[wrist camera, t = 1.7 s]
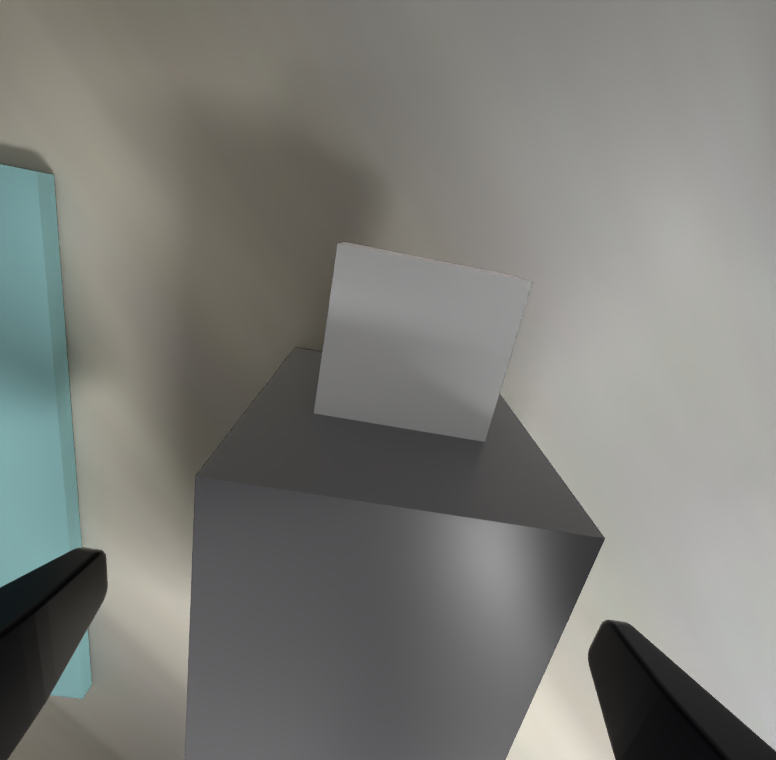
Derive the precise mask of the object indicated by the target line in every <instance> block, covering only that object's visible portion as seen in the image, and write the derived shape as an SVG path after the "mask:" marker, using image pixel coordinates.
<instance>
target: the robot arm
mask: <svg viewBox="0 0 776 760" xmlns="http://www.w3.org/2000/svg"><path fill="white" fill-rule="evenodd" d="M107 586H108V582H107V562H106V554H105V553H104V551H102V550H99V549H91V548H84V547H80V548H75V549H73V550H71V551H69V552H67V553H65V554H63V555H61V556H59V557H57V558H56V559H54V560H52V561H50V562H48V563H46V564H44V565H42V566H40V567H38V568H36V569H34V570H32V571H31V572H29V573H27V574H25V575H23V576H21V577H19V578H17V579H15V580H13V581H11V582H9V583H7V584H6V585H4V586H2V587H0V760H7V759H8V758H9V756H10V755H11V753H12V752H13V750H14V749H15V748H16V746H17V745H18V743H19V742H20V740H21V739H22V737H23V736H24V734H25V733H26V731H27V730H28V728H29V727H30V725H31V724H32V723H33V721H34V720H35V718H36V716H37V715H38V713H39V712H40V710H41V709H42V707H43V706H44V704H45V703H46V701H47V699H48V698H49V696H50V694H51V693H52V691H53V689H54V688H55V686H56V684H57V682H58V681H59V679H60V677H61V675H62V674H63V672H64V670H65V668H66V666H67V665H68V663H69V661H70V659H71V658H72V656H73V654H74V652H75V650H76V649H77V647H78V645H79V643H80V642H81V640H82V638H83V636H84V634H85V633H86V631H87V629H88V627H89V626H90V624H91V622H92V620H93V618H94V617H95V615H96V613H97V611H98V610H99V608H100V606H101V604H102V602H103V600H104V598H105V596H106V592H107ZM588 662H589V667H590V671H591V674H592V678H593V681H594V685H595V688H596V692H597V696H598V699H599V703H600V706H601V710H602V714H603V717H604V721H605V724H606V728H607V732H608V735H609V739H610V742H611V746H612V749H613V753H614V756H615V759H616V760H776V751H775V750H774V749H772V748H771V747H770V746H769V745H768V744H767V743H766V742H764V741H763V740H762V739H761V738H760V737H759V736H758V735H756V734H755V733H754V732H753V731H752V730H751V729H750V728H748V727H747V726H746V725H745V724H744V723H743V722H742V721H740V720H739V719H738V718H737V717H736V716H735V715H733V714H732V713H731V712H730V711H729V710H728V709H727V708H725V707H724V706H723V705H722V704H721V703H720V702H719V701H717V700H716V699H715V698H714V697H713V696H712V695H711V694H709V693H708V692H707V691H706V690H705V689H704V688H703V687H701V686H700V685H699V684H698V683H697V682H696V681H695V680H693V679H692V678H691V677H690V676H689V675H688V674H687V673H685V672H684V671H683V670H682V669H681V668H680V667H679V666H677V665H676V664H675V663H674V662H673V661H672V660H671V659H669V658H668V657H667V656H666V655H665V654H664V653H663V652H661V651H660V650H659V649H658V648H657V647H656V646H654V645H653V644H652V643H651V642H650V641H649V640H648V639H646V638H645V637H644V636H643V635H642V634H641V633H640V632H638V631H637V630H636V629H635V628H634V627H633V626H631V625H630V624H628V623H626V622H621V621H614V620H605V621H604V622H602V624H601V626H600V628H599V630H598V632H597V634H596V636H595V638H594V640H593V642H592V644H591V646H590V648H589V652H588Z"/></svg>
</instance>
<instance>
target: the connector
mask: <svg viewBox="0 0 776 760" xmlns="http://www.w3.org/2000/svg"><path fill="white" fill-rule="evenodd" d="M532 284H533V282H530V281H527V280H524V279H521V278H518V277H515V276H511V275H508V274H504V273H499V272H494V271H489V270H484V269H479V268H474V267H469V266H464V265H459V264H454V263H449V262H444V261H439V260H434V259H429V258H424V257H419V256H414V255H409V254H403V253H398V252H393V251H388V250H383V249H378V248H373V247H368V246H363V245H358V244H353V243H348V242H344V243H339V244H337V251H336V258H335V266H334V273H333V280H332V287H331V294H330V301H329V308H328V315H327V322H326V329H325V337H324V344H323V351H322V352H319V351H314V350H308V349H302V348H297V347H295V348H294V349H293V351H292V352H291V353H290V354H289V356H288V357H287V358H286V360H285V361H284V362H283V363H282V365H281V366H280V367H279V369H278V370H277V371H276V373H275V374H274V375H273V376H272V378H271V379H270V380H269V382H268V383H267V384H266V385H265V387H264V388H263V389H262V391H261V392H260V393H259V394H258V396H257V397H256V398H255V400H254V401H253V402H252V404H251V405H250V406H249V407H248V409H247V410H246V411H245V413H244V414H243V415H242V416H241V418H240V419H239V420H238V422H237V423H236V424H235V426H234V427H233V428H232V429H231V431H230V432H229V433H228V435H227V436H226V437H225V438H224V440H223V441H222V442H221V444H220V445H219V446H218V448H217V449H216V450H215V451H214V453H213V454H212V455H211V457H210V458H209V459H208V460H207V462H206V463H205V464H204V466H203V467H202V468H201V469H200V471H199V472H198V473H197V475H196V476H195V500H194V527H193V553H192V580H191V606H190V633H189V659H188V686H187V712H186V739H185V760H505V759H506V757H507V755H508V753H509V750H510V748H511V746H512V744H513V741H514V739H515V737H516V735H517V733H518V730H519V728H520V726H521V724H522V721H523V719H524V717H525V715H526V713H527V710H528V708H529V706H530V704H531V702H532V699H533V697H534V695H535V693H536V690H537V688H538V686H539V684H540V682H541V679H542V677H543V675H544V673H545V670H546V668H547V666H548V664H549V662H550V659H551V657H552V655H553V653H554V650H555V648H556V646H557V644H558V642H559V639H560V637H561V635H562V633H563V630H564V628H565V626H566V624H567V622H568V619H569V617H570V615H571V613H572V611H573V608H574V606H575V604H576V602H577V599H578V597H579V595H580V593H581V591H582V588H583V586H584V584H585V582H586V579H587V577H588V575H589V573H590V571H591V568H592V566H593V564H594V562H595V559H596V557H597V555H598V553H599V551H600V548H601V546H602V544H603V542H604V539H605V538H604V536H603V535H602V534H601V532H600V531H599V529H598V528H597V527H596V525H595V524H594V523H593V521H592V520H591V518H590V517H589V516H588V514H587V513H586V512H585V510H584V509H583V507H582V506H581V505H580V503H579V502H578V501H577V499H576V498H575V496H574V495H573V494H572V492H571V491H570V490H569V488H568V487H567V485H566V484H565V483H564V481H563V480H562V479H561V477H560V476H559V474H558V473H557V472H556V470H555V469H554V468H553V466H552V465H551V463H550V462H549V461H548V459H547V458H546V457H545V455H544V454H543V452H542V451H541V450H540V448H539V447H538V446H537V444H536V443H535V441H534V440H533V439H532V437H531V436H530V435H529V433H528V432H527V430H526V429H525V428H524V426H523V425H522V424H521V422H520V421H519V419H518V418H517V417H516V415H515V414H514V413H513V411H512V410H511V408H510V407H509V406H508V404H507V403H506V402H505V400H504V399H503V397H502V396H501V395H500V390H501V387H502V383H503V380H504V377H505V373H506V370H507V367H508V363H509V360H510V357H511V353H512V350H513V347H514V344H515V340H516V337H517V334H518V330H519V327H520V324H521V320H522V317H523V314H524V310H525V307H526V304H527V300H528V297H529V294H530V290H531V287H532Z"/></svg>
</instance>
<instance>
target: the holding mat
mask: <svg viewBox="0 0 776 760" xmlns="http://www.w3.org/2000/svg"><path fill="white" fill-rule="evenodd" d="M80 547H82V546H81V532H80V519H79V505H78V492H77V479H76V465H75V452H74V439H73V425H72V412H71V398H70V385H69V372H68V358H67V345H66V332H65V318H64V305H63V291H62V278H61V265H60V251H59V238H58V224H57V211H56V198H55V184H54V175H53V174H48V173H43V172H38V171H33V170H28V169H23V168H18V167H13V166H8V165H3V164H0V587H2V586H4V585H6V584H7V583H9V582H11V581H13V580H15V579H17V578H19V577H21V576H23V575H25V574H27V573H29V572H31V571H32V570H34V569H36V568H38V567H40V566H42V565H44V564H46V563H48V562H50V561H52V560H54V559H56V558H57V557H59V556H61V555H63V554H65V553H67V552H69V551H71V550H73V549H75V548H80ZM91 685H92V679H91V666H90V653H89V639H88V629H87V631H86V633H85V634H84V636H83V638H82V640H81V642H80V643H79V645H78V647H77V649H76V650H75V652H74V654H73V656H72V658H71V659H70V661H69V663H68V665H67V666H66V668H65V670H64V672H63V674H62V675H61V677H60V679H59V681H58V682H57V684H56V686H55V688H54V689H53V691H52V693H51V694H50V695H53V696H62V697H71V698H80V699H83V698H84V696H85V694H86V693H87V691H88V690H89V688H90V687H91Z"/></svg>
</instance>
